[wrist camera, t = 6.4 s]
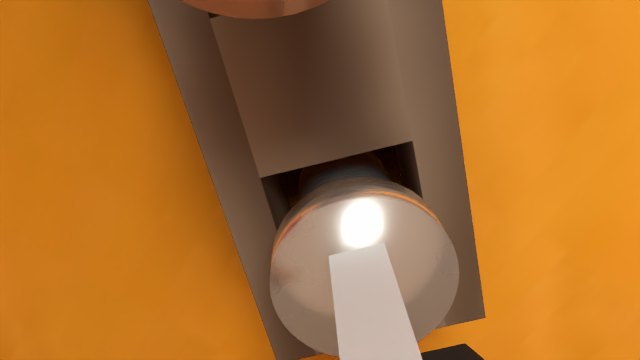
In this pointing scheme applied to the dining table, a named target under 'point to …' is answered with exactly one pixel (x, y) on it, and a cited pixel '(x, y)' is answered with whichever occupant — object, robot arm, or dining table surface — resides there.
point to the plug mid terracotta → (254, 7)
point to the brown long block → (321, 119)
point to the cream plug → (355, 233)
